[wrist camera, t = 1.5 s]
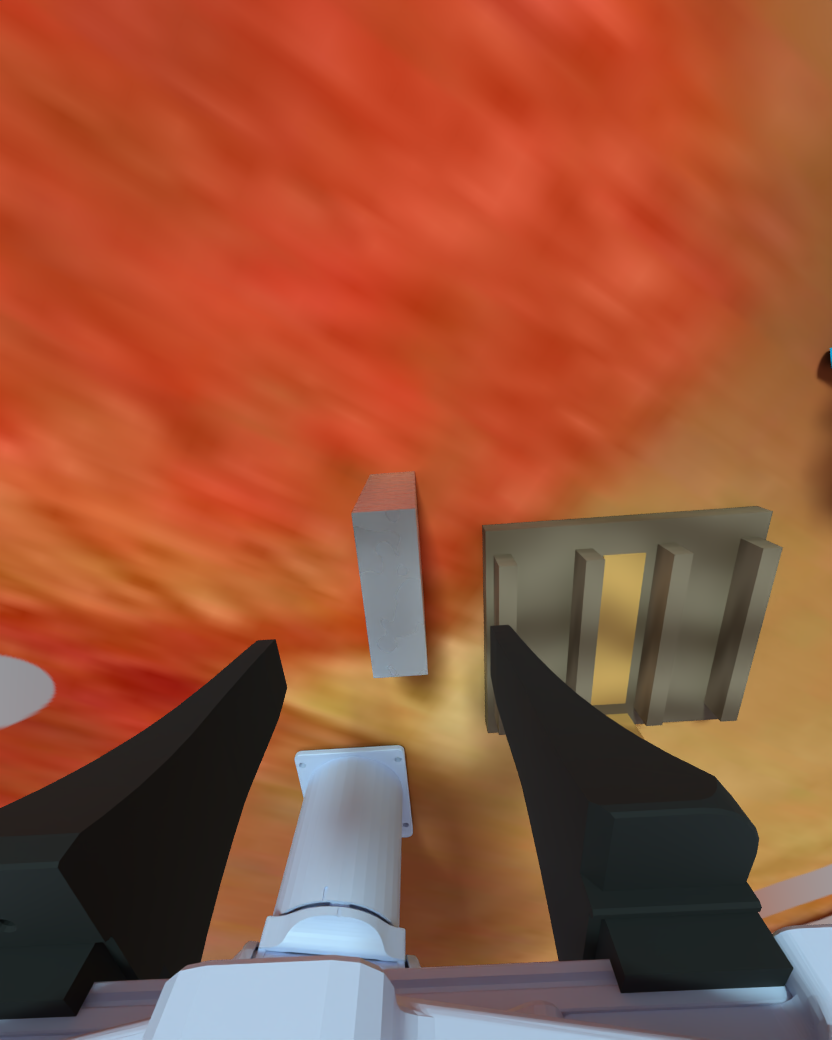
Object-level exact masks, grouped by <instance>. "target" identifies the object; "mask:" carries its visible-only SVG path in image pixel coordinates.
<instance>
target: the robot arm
mask: <svg viewBox="0 0 832 1040" xmlns="http://www.w3.org/2000/svg"><path fill="white" fill-rule="evenodd" d="M490 675H491V680H492V685H493V691H494V695H495V700H496V705H497V708H498V711H499V715H500V718H501V721H502V724H503V727H504V730H505V734H506V737H507V740H508V743H509V746H510V749H511V752H512V755H513V759H514V762H515V765H516V768H517V771H518V774H519V778H520V781H521V785H522V789H523V793H524V797H525V802H526V806H527V811H528V815H529V819H530V824H531V828H532V833H533V838H534V842H535V847H536V851H537V856H538V861H539V865H540V870H541V875H542V880H543V885H544V890H545V895H546V899H547V904H548V909H549V914H550V919H551V924H552V929H553V934H554V939H555V945H556V950H557V955H558V960H559V961H556V962H533V963H511V964H488V965H466V966H443V967H421V966H420V963H419V960H418V959H417V957H416V956H415V955H406V956H405V937H406V930H405V929H404V928H400V927H399V921H400V881H401V842H402V838H403V837H410V836H411V835H412V834H413V824H412V815H411V806H410V797H409V788H408V779H407V770H406V761H405V752H404V748H403V747H402V746H400V745H390V746H374V747H357V748H341V749H324V750H308V751H299V752H297V754H296V756H295V764H296V768H297V772H298V776H299V780H300V784H301V789H302V793H303V797H304V800H303V804H302V808H301V811H300V815H299V819H298V823H297V827H296V830H295V834H294V838H293V842H292V845H291V849H290V853H289V857H288V860H287V864H286V868H285V872H284V876H283V879H282V883H281V887H280V891H279V894H278V898H277V902H276V906H275V910H274V913H273V916H268V917H267V919H266V922H265V926H264V929H263V933H262V937H261V940H260V944H259V942H256V941H248V942H247V943H246V944H245V945H244V947H243V949H242V950H241V951H240V952H239V953H238V954H237V955H236V956H235V957H234V958H233V959H231V960H210V961H205V962H201V958H202V954H203V950H204V946H205V941H206V937H207V933H208V929H209V925H210V921H211V918H212V914H213V910H214V906H215V902H216V899H217V895H218V891H219V887H220V883H221V880H222V876H223V873H224V869H225V866H226V862H227V859H228V855H229V852H230V849H231V845H232V842H233V838H234V835H235V832H236V829H237V825H238V822H239V819H240V816H241V813H242V809H243V806H244V803H245V801H246V798H247V795H248V792H249V790H250V787H251V785H252V782H253V780H254V777H255V775H256V773H257V770H258V768H259V765H260V763H261V761H262V758H263V756H264V753H265V751H266V749H267V746H268V744H269V741H270V739H271V736H272V734H273V731H274V729H275V726H276V724H277V721H278V719H279V716H280V712H281V709H282V705H283V702H284V698H285V694H286V690H287V685H286V681H285V676H284V672H283V668H282V664H281V660H280V656H279V652H278V647H277V643H276V639H274V640H258V641H256V642H255V643H254V644H253V645H251V646H250V647H249V648H248V649H247V650H245V651H244V652H243V653H242V654H241V655H239V656H238V657H237V658H236V659H235V660H234V661H233V662H231V663H230V664H229V665H228V666H227V667H226V668H224V669H223V670H222V671H221V672H220V673H219V674H217V675H216V676H215V677H214V678H213V679H211V680H210V681H209V682H208V683H207V684H205V685H204V686H203V687H202V688H200V689H199V690H198V691H197V692H195V693H194V694H193V695H192V696H190V697H189V698H188V699H186V700H185V701H184V702H183V703H181V704H180V705H179V706H178V707H176V708H175V709H174V710H172V711H171V712H169V713H168V714H167V715H165V716H164V717H162V718H161V719H160V720H158V721H157V722H155V723H154V724H152V725H151V726H149V727H148V728H146V729H145V730H144V731H142V732H140V733H139V734H137V735H136V736H134V737H133V738H131V739H129V740H128V741H126V742H124V743H123V744H121V745H120V746H118V747H116V748H115V749H113V750H111V751H110V752H108V753H106V754H105V755H103V756H101V757H100V758H98V759H96V760H95V761H93V762H91V763H89V764H87V765H86V766H84V767H82V768H80V769H78V770H77V771H75V772H73V773H71V774H69V775H67V776H65V777H63V778H61V779H60V780H58V781H56V782H54V783H52V784H50V785H48V786H46V787H44V788H42V789H40V790H38V791H36V792H34V793H32V794H29V795H27V796H25V797H23V798H21V799H19V800H17V801H15V802H13V803H10V804H8V805H6V806H4V807H2V808H0V1040H832V924H822V925H799V926H789V927H784V928H781V929H779V930H777V931H775V932H774V933H773V934H771V932H770V930H769V929H768V927H767V926H766V924H765V923H764V921H763V920H762V918H761V917H760V915H759V913H758V912H760V911H761V908H762V907H761V904H760V901H759V900H758V898H757V897H756V895H755V894H754V892H753V891H752V889H751V887H750V886H749V884H748V883H747V878H748V876H749V873H750V870H751V868H752V865H753V862H754V860H755V857H756V854H757V849H758V842H759V837H758V833H757V830H756V827H755V826H754V825H753V824H752V822H751V821H750V820H749V818H748V817H747V816H746V814H745V813H744V812H743V810H742V809H741V807H740V806H739V805H738V804H737V802H736V801H735V800H734V798H733V797H732V796H731V795H730V794H729V792H728V791H727V790H726V789H725V788H724V787H723V786H722V784H721V783H720V782H719V781H718V780H717V778H716V777H715V776H713V775H711V774H709V773H707V772H705V771H703V770H701V769H699V768H697V767H695V766H693V765H691V764H689V763H687V762H685V761H683V760H681V759H679V758H677V757H674V756H672V755H671V754H669V753H667V752H665V751H663V750H661V749H660V748H658V747H656V746H654V745H653V744H651V743H649V742H647V741H646V740H644V739H642V738H641V737H639V736H637V735H636V734H634V733H632V732H631V731H629V730H627V729H626V728H624V727H623V726H621V725H620V724H618V723H617V722H615V721H614V720H612V719H611V718H609V717H608V716H606V715H605V714H603V713H602V712H601V711H599V710H598V709H596V708H595V707H594V706H592V705H591V704H590V703H589V702H587V701H586V700H585V699H583V698H582V697H581V696H580V695H578V694H577V693H576V692H575V691H574V690H572V689H571V688H570V687H569V686H568V685H567V684H566V683H564V682H563V681H562V680H561V679H560V678H559V677H558V676H557V675H556V674H555V673H554V672H553V671H552V670H551V669H549V668H548V666H547V665H546V664H545V663H544V662H543V661H542V660H541V659H540V658H539V657H538V656H537V655H536V654H535V653H534V652H533V651H532V650H531V649H530V648H529V647H528V646H527V644H526V643H525V642H524V641H523V640H522V639H521V638H520V637H519V635H518V634H517V633H516V632H515V631H514V629H513V628H512V627H511V626H510V625H495V626H490Z"/></svg>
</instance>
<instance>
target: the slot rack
mask: <svg viewBox="0 0 832 1040" xmlns="http://www.w3.org/2000/svg"><path fill="white" fill-rule="evenodd" d="M772 512H773V511H770V510H767V509H764V508H761V507H758V506H753V507H738V508H724V509H710V510H695V511H681V512H667V513H652V514H638V515H624V516H609V517H595V518H581V519H566V520H552V521H538V522H523V523H509V524H495V525H482V532H483V597H484V663H485V722H486V726H487V731H488V733H496V732H498V733H499V735H505V730H504V727H503V724H502V721H501V718H500V715H499V711H498V708H497V705H496V700H495V695H494V691H493V685H492V680H491V675H490V626H495V625H510V626H511V627H512V628H513V629H514V631H515V632H516V633H517V634H518V635H519V637H520V638H521V639H522V640H523V641H524V642H525V643H526V644H527V646H528V647H529V648H530V649H531V650H532V651H533V652H534V653H535V654H536V655H537V656H538V657H539V658H540V659H541V660H542V661H543V662H544V663H545V664H546V665H547V666H548V668H549V669H551V670H552V671H553V672H554V673H555V674H556V675H557V676H558V677H559V678H560V679H561V680H562V681H563V682H564V683H566V684H567V685H568V686H569V687H570V688H571V689H572V690H574V691H575V692H576V693H577V694H578V695H580V696H581V697H582V698H583V699H585V700H586V701H587V702H589V703H590V704H591V705H592V706H594V707H595V708H596V709H598V710H599V711H601V712H602V713H603V714H605V715H606V716H608V717H609V718H611V719H612V720H614V721H615V722H617V723H618V724H620V725H621V726H623V727H624V728H626V729H627V730H629V731H631V732H632V733H634V734H636V735H637V736H639V737H641V738H642V739H644V738H643V736H642V735H641V733H640V732H639V730H638V729H637V727H636V726H635V724H644V723H645V725H646V726H653V725H662V723H663V722H677V721H694V720H710V719H719V720H720V721H736V720H737V717H738V713H739V709H740V706H741V702H742V698H743V694H744V690H745V687H746V683H747V679H748V675H749V672H750V668H751V664H752V660H753V657H754V653H755V649H756V645H757V642H758V638H759V634H760V630H761V627H762V623H763V619H764V615H765V612H766V608H767V604H768V600H769V597H770V593H771V589H772V585H773V582H774V578H775V574H776V570H777V567H778V563H779V559H780V555H781V552H782V548H783V547H780V546H778V545H776V544H774V543H771V542H769V541H767V540H766V537H767V533H768V529H769V525H770V520H771V516H772Z"/></svg>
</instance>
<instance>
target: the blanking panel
mask: <svg viewBox="0 0 832 1040" xmlns="http://www.w3.org/2000/svg"><path fill="white" fill-rule="evenodd" d="M352 521H353V528H354V536H355V543H356V550H357V558H358V565H359V573H360V580H361V588H362V595H363V603H364V610H365V618H366V625H367V633H368V640H369V647H370V655H371V662H372V670H373V677H374V678H383V677H398V676H414V675H428V667H427V647H426V628H425V609H424V592H423V579H422V565H421V552H420V538H419V525H418V511H417V498H416V484H415V471H412V472H398V473H384V474H370V476H369V478H368V480H367V482H366V484H365V486H364V488H363V490H362V492H361V494H360V497H359V499H358V501H357V503H356V505H355V507H354V509H353V511H352Z"/></svg>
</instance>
